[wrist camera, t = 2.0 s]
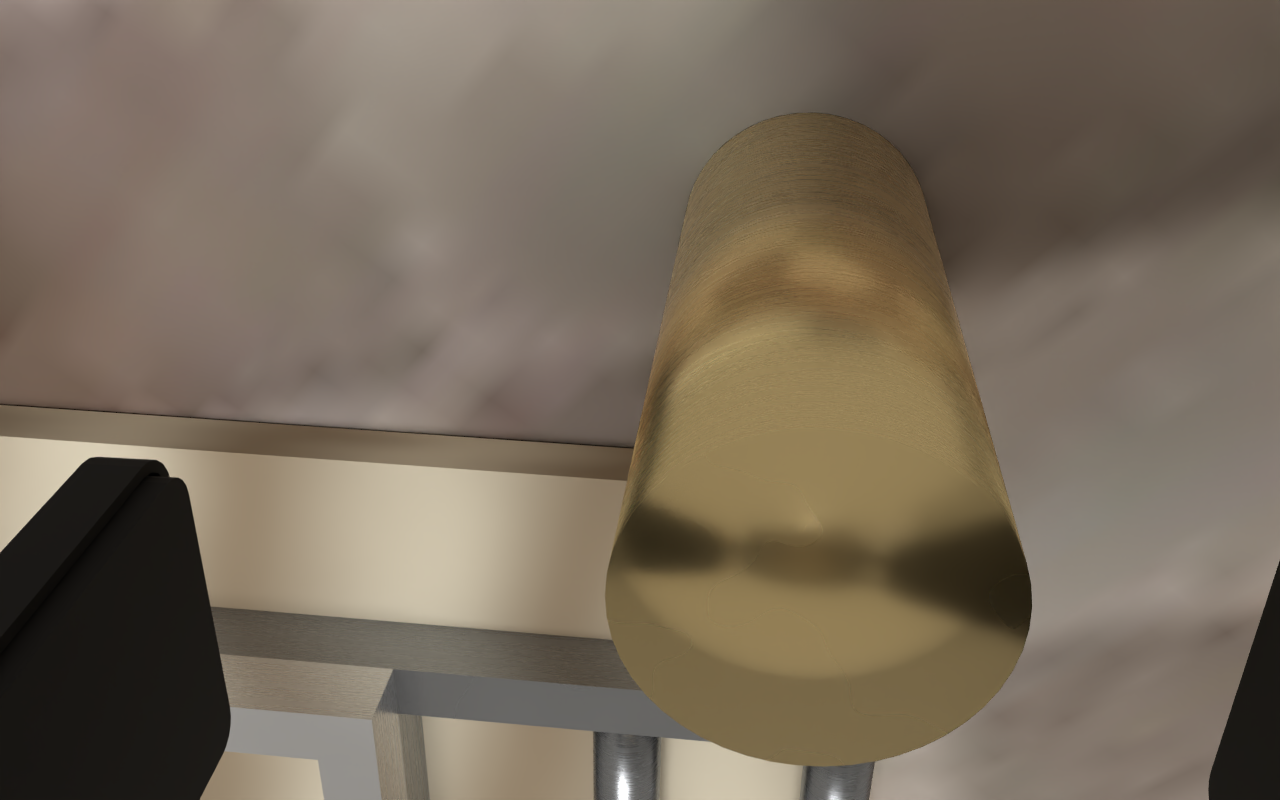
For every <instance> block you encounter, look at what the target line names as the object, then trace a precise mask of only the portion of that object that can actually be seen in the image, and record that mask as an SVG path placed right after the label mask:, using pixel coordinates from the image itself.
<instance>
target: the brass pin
mask: <svg viewBox="0 0 1280 800" xmlns="http://www.w3.org/2000/svg"><path fill="white" fill-rule="evenodd" d="M605 603H606V616H607V621H608V625H609V629H610V633H611V637H612V640H613V642H614V645H615V647H616V649H617V652H618V654H619V657H620V659H621V660H622V662H623V664H624V665H625V667H626V669H627V670H628V672H629V674H630V676H631V677H632V678H633V680H634V681H635V682H636V683H637V685H638V686H639V687H640V688H641V690H642V691H643V692H644V693H645V695H646V696H647V697H648V698H649V699H650V700H651V701H652V702H654V703H655V704H656V705H657V706H658V707H659V708H660V709H661V710H662V711H663V712H664V713H666V714H667V715H668V716H670V717H671V718H672V719H673V720H675V721H676V722H677V723H679V724H680V725H681V726H683V727H685V728H686V729H688V730H690V731H691V732H693V733H695V734H696V735H698V736H700V737H701V738H704V739H706V740H708V741H710V742H712V743H714V744H717V745H719V746H721V747H723V748H726V749H729V750H731V751H734V752H737V753H740V754H743V755H746V756H749V757H754V758H758V759H762V760H766V761H770V762H776V763H784V764H791V765H799V766H822V767H824V766H844V765H854V764H861V763H867V762H874V761H878V760H882V759H886V758H890V757H894V756H898V755H901V754H904V753H906V752H909V751H912V750H915V749H917V748H920V747H923V746H925V745H927V744H929V743H931V742H933V741H935V740H937V739H939V738H941V737H943V736H945V735H947V734H948V733H950V732H951V731H953V730H954V729H956V728H958V727H959V726H961V725H962V724H964V723H965V722H967V721H968V720H969V719H970V718H971V717H973V716H974V715H975V714H976V713H977V712H979V711H980V710H981V709H982V708H983V707H984V706H985V705H986V704H987V703H988V702H989V701H990V700H991V699H992V698H993V697H994V696H995V694H996V693H997V692H998V691H999V690H1000V689H1001V687H1002V686H1003V684H1004V683H1005V681H1006V680H1007V679H1008V677H1009V676H1010V674H1011V673H1012V671H1013V669H1014V667H1015V665H1016V663H1017V661H1018V659H1019V657H1020V655H1021V653H1022V651H1023V648H1024V645H1025V641H1026V638H1027V635H1028V631H1029V626H1030V619H1031V611H1032V595H1031V582H1030V577H1029V572H1028V568H1027V563H1026V559H1025V556H1024V552H1023V549H1022V545H1021V541H1020V538H1019V534H1018V531H1017V527H1016V524H1015V520H1014V516H1013V513H1012V509H1011V506H1010V502H1009V499H1008V495H1007V492H1006V488H1005V484H1004V481H1003V477H1002V474H1001V470H1000V467H999V463H998V459H997V456H996V452H995V449H994V445H993V442H992V438H991V435H990V431H989V427H988V424H987V420H986V417H985V413H984V410H983V406H982V402H981V399H980V395H979V392H978V388H977V385H976V381H975V378H974V374H973V370H972V367H971V363H970V360H969V356H968V353H967V349H966V345H965V342H964V338H963V335H962V331H961V328H960V324H959V320H958V317H957V313H956V310H955V306H954V303H953V299H952V296H951V292H950V288H949V285H948V281H947V278H946V274H945V271H944V267H943V263H942V260H941V256H940V253H939V249H938V246H937V242H936V239H935V235H934V231H933V228H932V224H931V221H930V217H929V214H928V210H927V206H926V203H925V199H924V196H923V192H922V190H921V187H920V185H919V182H918V179H917V177H916V176H915V174H914V172H913V170H912V168H911V167H910V165H909V164H908V162H907V161H906V160H905V158H904V157H903V156H902V154H901V153H900V152H899V151H898V150H897V149H896V148H895V147H894V146H893V145H892V144H891V143H890V142H889V141H887V140H886V139H885V138H883V137H882V136H881V135H879V134H878V133H877V132H875V131H873V130H871V129H869V128H868V127H866V126H864V125H862V124H860V123H857V122H854V121H852V120H849V119H847V118H843V117H838V116H834V115H829V114H820V113H796V114H789V115H783V116H779V117H775V118H771V119H768V120H765V121H762V122H760V123H758V124H755V125H753V126H751V127H749V128H747V129H745V130H744V131H742V132H740V133H739V134H737V135H735V136H734V137H733V138H732V139H730V140H729V141H728V142H726V143H725V144H724V145H723V146H722V147H721V148H720V149H719V150H718V151H717V152H716V153H715V154H714V155H713V156H712V157H711V159H710V160H709V161H708V163H707V164H706V165H705V166H704V168H703V169H702V171H701V173H700V175H699V176H698V178H697V180H696V182H695V184H694V187H693V189H692V192H691V194H690V197H689V201H688V205H687V209H686V214H685V218H684V223H683V227H682V232H681V237H680V241H679V246H678V250H677V255H676V259H675V264H674V269H673V273H672V278H671V282H670V287H669V291H668V296H667V300H666V305H665V310H664V314H663V319H662V323H661V328H660V332H659V337H658V342H657V346H656V351H655V355H654V360H653V364H652V369H651V374H650V378H649V383H648V387H647V392H646V396H645V401H644V405H643V410H642V415H641V419H640V424H639V428H638V433H637V437H636V442H635V447H634V451H633V456H632V460H631V465H630V469H629V474H628V479H627V483H626V488H625V492H624V497H623V501H622V506H621V510H620V515H619V520H618V524H617V529H616V533H615V538H614V542H613V547H612V552H611V556H610V561H609V565H608V570H607V575H606V588H605Z"/></svg>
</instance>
